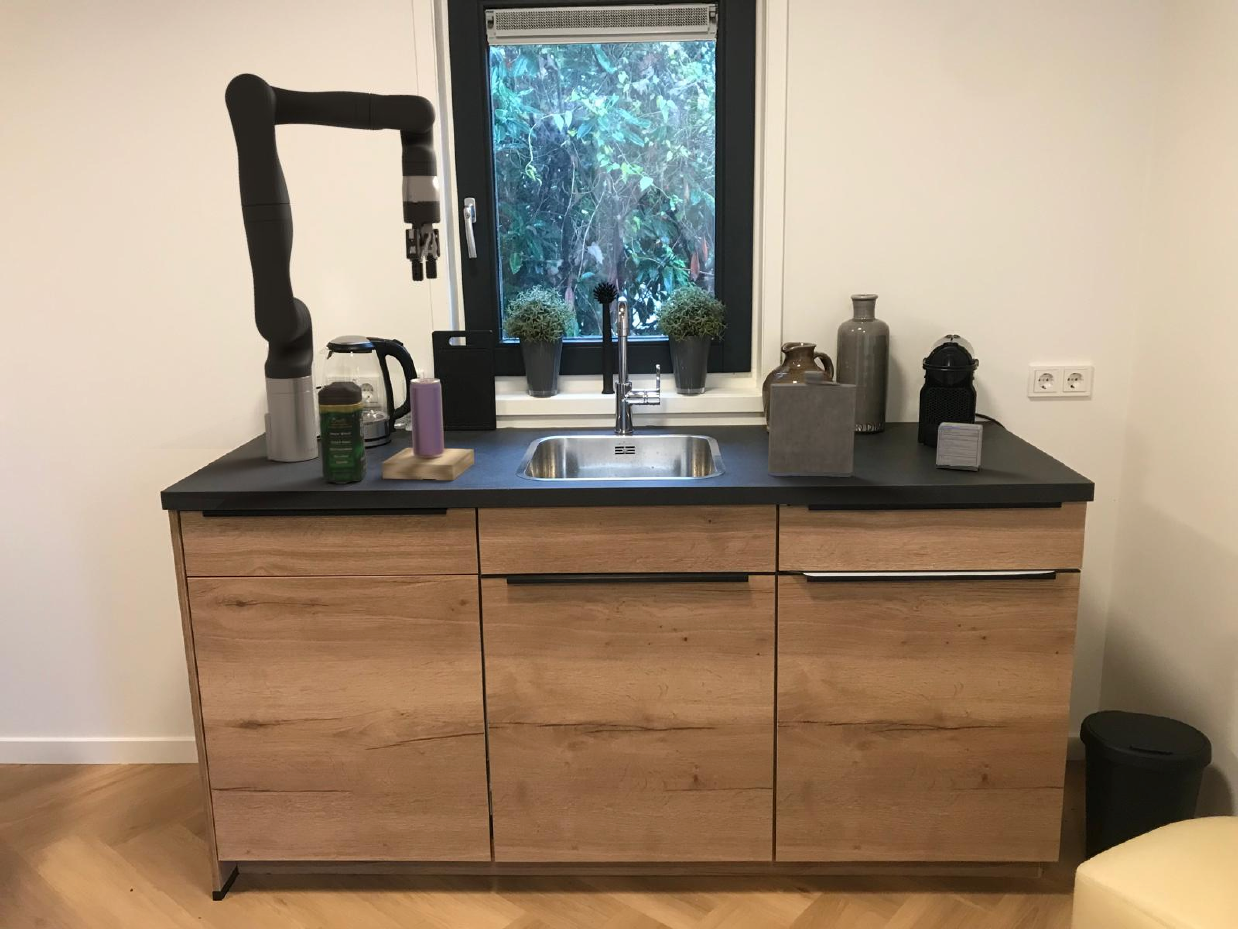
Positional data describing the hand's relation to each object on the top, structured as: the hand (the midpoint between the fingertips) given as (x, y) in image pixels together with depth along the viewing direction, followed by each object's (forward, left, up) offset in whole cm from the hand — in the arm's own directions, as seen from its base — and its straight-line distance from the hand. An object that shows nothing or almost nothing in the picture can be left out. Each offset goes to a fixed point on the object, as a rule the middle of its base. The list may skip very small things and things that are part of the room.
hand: (425, 279), depth 213 cm
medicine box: (+109, -5, -36) cm, 115 cm away
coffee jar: (-8, -28, -36) cm, 47 cm away
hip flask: (+80, -14, -36) cm, 89 cm away
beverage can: (+6, -20, -33) cm, 39 cm away
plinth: (+6, -20, -36) cm, 42 cm away
